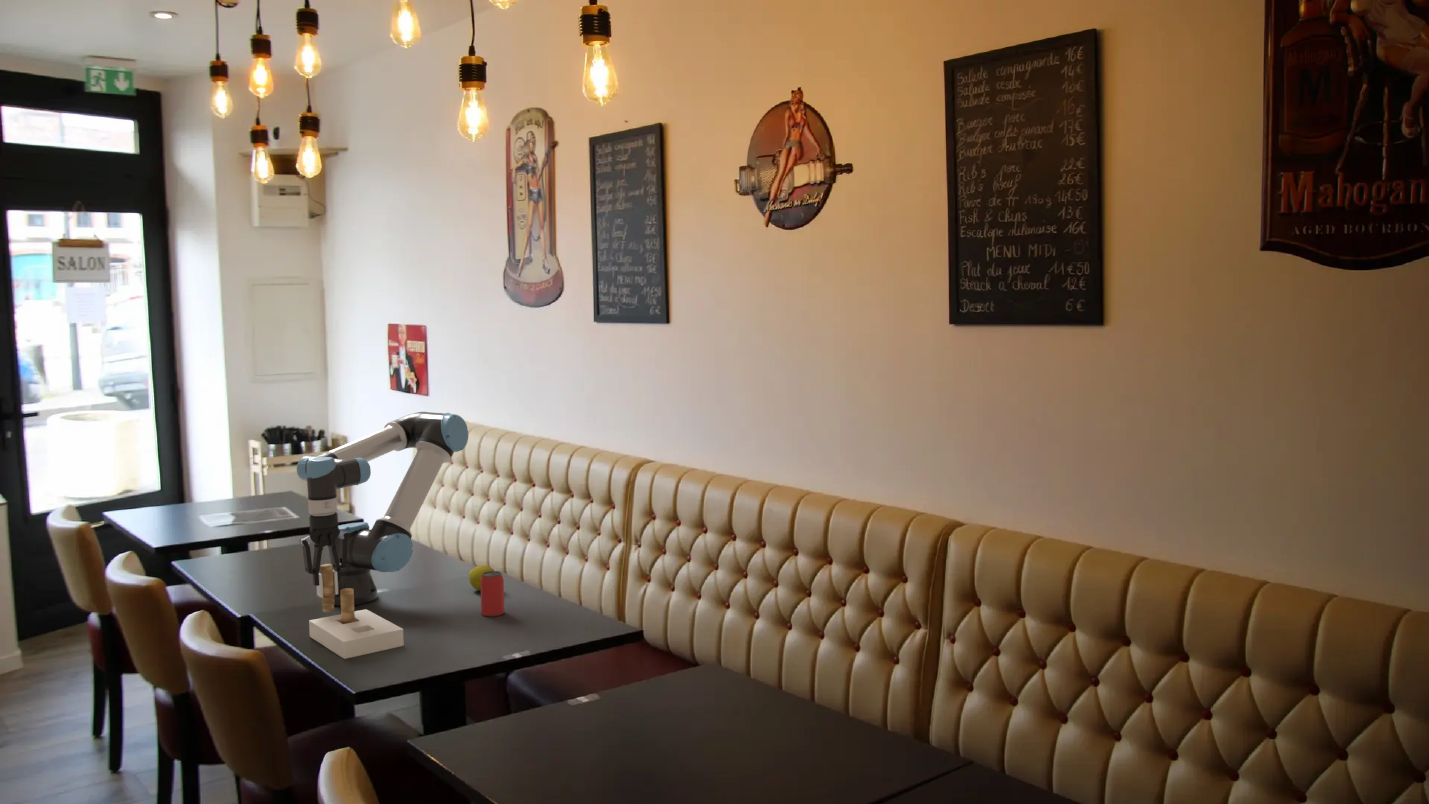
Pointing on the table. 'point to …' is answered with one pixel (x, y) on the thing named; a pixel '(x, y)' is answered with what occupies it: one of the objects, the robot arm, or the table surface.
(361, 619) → the off-white board
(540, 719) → the table surface
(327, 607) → the honey-oak peg
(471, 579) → the lemon
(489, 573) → the beer can
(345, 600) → the seated peg
